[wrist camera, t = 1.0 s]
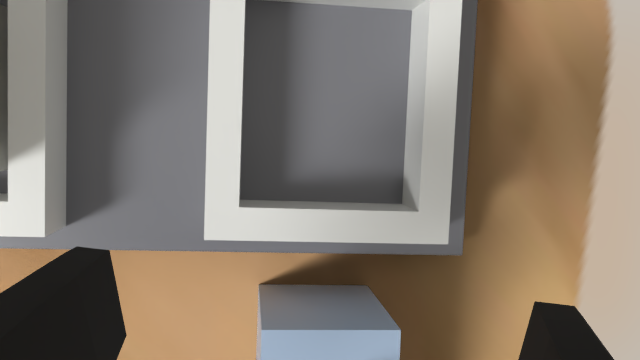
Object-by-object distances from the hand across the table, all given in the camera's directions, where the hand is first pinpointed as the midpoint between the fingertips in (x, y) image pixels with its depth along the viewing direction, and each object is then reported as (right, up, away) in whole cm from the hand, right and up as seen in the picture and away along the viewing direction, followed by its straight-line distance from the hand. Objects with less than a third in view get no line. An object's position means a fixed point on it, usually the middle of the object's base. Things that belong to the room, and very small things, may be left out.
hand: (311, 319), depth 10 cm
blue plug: (0, -4, +12) cm, 12 cm away
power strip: (-7, +5, +10) cm, 13 cm away
